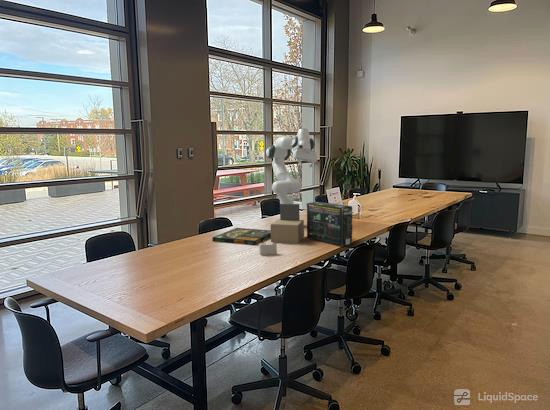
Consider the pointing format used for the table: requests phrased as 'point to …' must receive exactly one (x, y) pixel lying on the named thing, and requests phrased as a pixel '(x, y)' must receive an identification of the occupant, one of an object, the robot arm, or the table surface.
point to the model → (267, 249)
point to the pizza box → (243, 236)
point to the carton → (287, 233)
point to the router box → (329, 223)
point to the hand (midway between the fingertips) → (306, 166)
